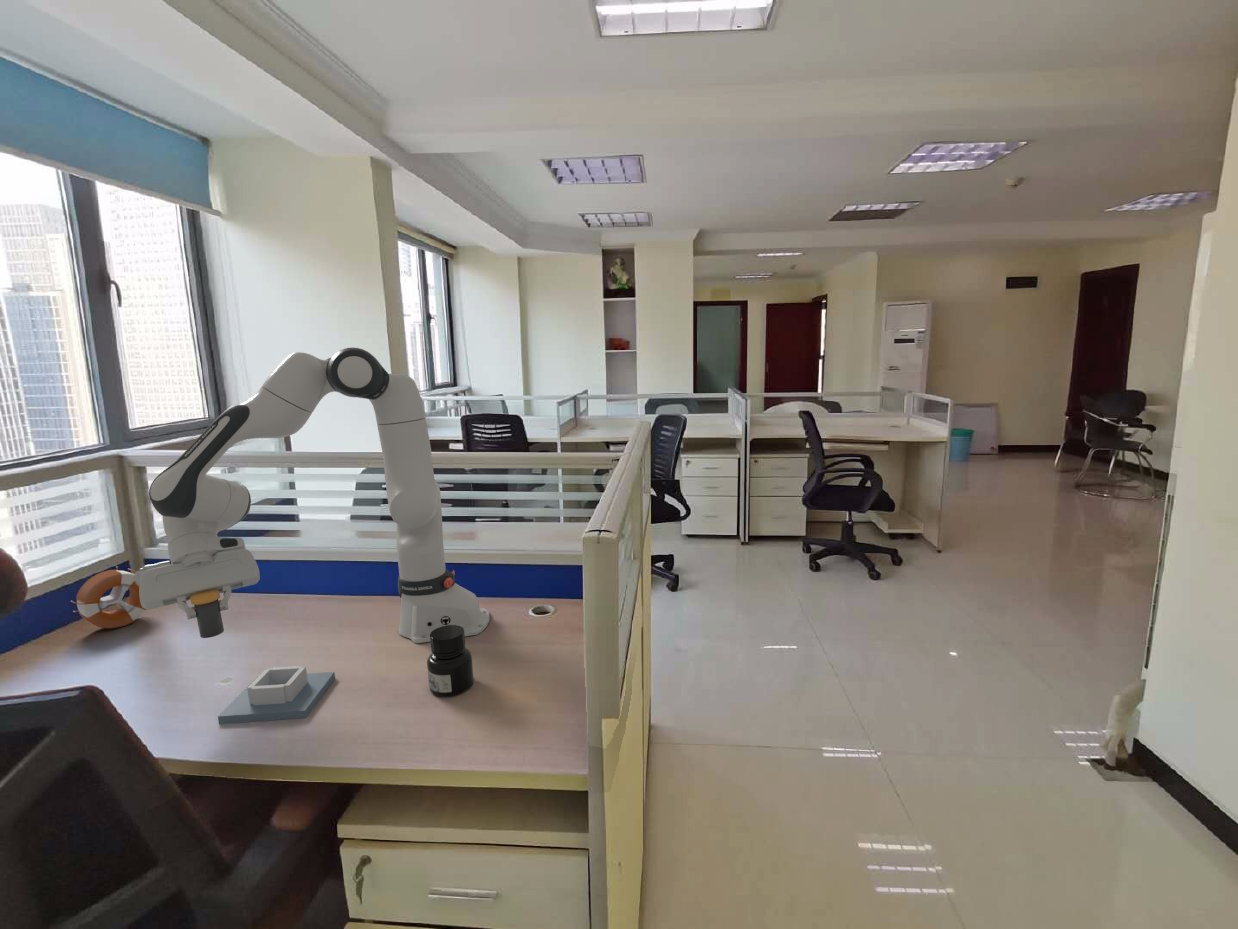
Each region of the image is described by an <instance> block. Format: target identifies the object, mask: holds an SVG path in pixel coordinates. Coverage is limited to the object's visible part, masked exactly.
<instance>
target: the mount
mask: <svg viewBox="0 0 1238 929" xmlns="http://www.w3.org/2000/svg"><path fill="white" fill-rule="evenodd" d="M335 674H336V673H335V671H328V672H313V673H310V672H309V673H308V672H307V667H306V666H303V665H293V666H292V665H291V666H277V667H275V666H274V667H270V668H266V669H265V670H263V671H262V672H261V673H260V674H259V675H258V676H256V677H255V679H253V680H252V681H251V682H250V683H249V684H248V685H247V686H246V687H245V689H243V690H242V691H241V692H240V693H239V695H238V696H236V698H234V700H233V701H232V702H230V703H229V704H228V706H226V708H224V709H223V710H222V711H221V712H220V714H219V715H218V716H217V719H218V724H219V725H220V724H232V723H247V722H248V723H249V722H262V721H263V722H264V721H274V720H275V721H276V720H290V719H305V718H307V716H308V715H310V713H311V711H312V710H313V709H314V707H315V706H316V705H317V704H318V702H319V701H320V699H321V698H322V697H323V696H324V695H325V692H326V691H327V690H328V688H330V686H331V685H332V683H333V682H334V681H335V679H336V675H335Z"/></svg>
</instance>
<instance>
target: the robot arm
mask: <svg viewBox="0 0 1238 929" xmlns="http://www.w3.org/2000/svg"><path fill="white" fill-rule="evenodd" d="M333 392H335V393H339V394H341V395H343V396H346V397H349V398H360V399H366V400H369V402H370V403H371V405H372V408H373V410H374V414H375V420H376V426H377V430H378V437H379V441H380V446H381V447H380V448H381V453H382V457H383V467H384V468H383V470H384V480H385V488H386V489H385V490H386V495H387V498H386V499H387V504H388V511H389V514H390V517H391V518H392V521H394V523H395V524H396V554H397V563H398V564H397V565H398V573H399V575H398V577H397V587H398V588H397V589H398V594H399V598H400V599H401V600H400V619H399V624H398V629H397V632H398V633H399V635H400V636H401V637H404V638H407V639H410V640H411V641H412V642H413V643H415V644H423V643H429V642H430V633H431V632H432V631H433V630H435V629H436V628H439V627H442V626H447V625H458V626H461V627H463V628H464V634H465V637H469V636H476V635H479V634H481V633H482V632H483V631H484V630H485V629H486V628H487V627H488V625H489V622H490V618H491V617H490V612H489V610H488V609H487V608H484V607H481V605H480V602H479V599H478V597H477V595H476V593H474V592H472V591H470V590H468V589H467V588H465V587H462V586H460V584H457V583H456V581H455V580H456V579H455V575H456V574H455V570H454V569H453V570H452V571H450V570H448V569H447V568H446V559H445V546H444V534H443V533H444V531H443V514H442V499H441V497H442V496H441V489H440V486H439V483H438V481H437V480H436V479H435V472H434V471H435V470H434V465H433V464H434V463H433V457H432V447H431V441H430V435H429V429H428V425H427V418H426V413H425V412H426V411H425V409H424V408H425V407H424V405H423V404H424V403H423V401H422V397H421V394H420V391H419V389H418V386H417V384H416V382H415V380H414V379H413V378H412V377H411V376H409V375H406V374H402V373H389V372H388V371H387V370H386V369H385V368H384V367H383V366H382V364H381V363H380V362H379V360H378V359H377V358H376V357H375V356H374V355H373V354H372V353H371V352H369V351H367V350H366V349H364V348H359V347H347V348H343V349H340V350H338V351H337V352H335V353H334V354H333V355H332V356H331V357H329V358H327V359H321V358H318V357H316V356H314V355H313V354H310V353H306V352H302V351H300V352H299V351H297V352H292V353H290V354H288V355H287V356H286V357H285V358H284V359H283V360H282V361H281V362H280V363H279V364H278V365H277V366H276V367H275V369H274V370H273V371H272V372H271V373H270V374H269V376H268V377H267V378H266V380H265V381H264V383H263V384H262V385H261V387H260V388H259V390H258V391H257V392H255V394H254V395H252V396H251V397H250V398H248V399H247V400H246V401H244V402H242V403H240V404H234V405H231V406H230V407H228V408H226V409H224V410H223V412H222V413H220V415H218V416H217V417H216V418H215V419H214V420H213V421H212V423H211V424H209V425H208V426H207V428H206V429H205V430H204V431H203V432H202V433H201V434H200V435H199V437H197V438H196V440H195V441H194V442H193V443H192V444H190V446H189V447H188V448H187V449H186V450H185V452H184V451H183V453H182V454H181V456H179V457H178V458H177V459H176V460H175V461H174V462H173V463H172V464H171V465H169V466H168V467H167V468H165V469H164V470H163V471H161V472H160V473H159V474H158V475H157V476H156V477H155V478H154V480H153V481H152V482H151V484H150V486H149V490H148V497H149V499H150V502H151V505H152V507H153V508H154V509H155V510H156V511H157V513H158V514H159V515H161V516H162V517H161V518H162V524H163V525H162V526H163V530H164V531H163V532H164V533H165V535H166V537H167V539H168V541H167V542H168V543H167V551H168V556H169V560H166V561H161V562H157V563H154V564H146V565H144V566H142V568H139V569H138V570H136V573H135V572H134V573H135V575H134V578H135V583H136V584H137V585H138V586H139V595H140V602H141V605H142V607H143V608H145V609H147V610H146V611H148V610H153V609H158V608H162V607H166V606H171V605H175V604H177V607H178V608H179V609H180V610H182V611H183V612H184V613H186V616H187V620H191V619H195V618H196V619H197V616H196V611H195V607H194V606H191V607H190V606H189V605H188V602H187V601H191V599H190V597H191V596H192V595H193V594H195V593H198V592H201V591H205V590H212V589H216V590H219V593H222V594H223V597H222V599H220V600H219V599H218V601H219V607H220V612H222V611H227V610H229V603H228V602H229V601H230V598H231V596H232V590H236V589H240V588H245V587H248V586H253V585H256V584H258V582H259V581H260V579H261V575H260V574H261V573H260V569H259V566H258V564H257V561H256V559H255V556H254V555H253V554H252V552H251V551H250V550H249V549H247V548H246V544H245V541H244V539H243V538H242V537H224V536H223V537H222V536H218V534H219V532H222V531H223V532H224V531H226V530H227V529H230V528H232V527H233V526H235V525H237V524H238V523H240V522H241V521H243V520H244V519H245V518H246V517H247V516H248V515H249V513H250V510H251V505H252V498H251V494H250V491H249V490H248V488H247V486H245V485H243V484H240V483H237V482H235V481H231V480H228V479H225V478H220V477H216V476H212V475H210V474H207V473H208V472H209V471H210V470H211V469H213V467H214V466H215V465H216V463H217V462H218V461H219V460H220V459H221V458H222V457H223V456H224V455H225V453H227V451H228V450H229V449H230V448H232V446H234V445H236V444H237V443H240V442H242V441H246V440H253V439H280V438H286V437H290V436H293V435H294V434H297V432H299V431H300V430H301V429H302V428H303V427H304V426H305V424H306V423H307V422H308V420H309V418H310V417H311V415H312V414H313V413H314V411H315V409H316V407H317V406H318V405H319V403H320V401H322V399H323V398H324V397H325V396H327V395H328V394H330V393H333ZM430 643H431V642H430Z"/></svg>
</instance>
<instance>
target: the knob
mask: <svg viewBox="0 0 1238 929" xmlns="http://www.w3.org/2000/svg"><path fill="white" fill-rule="evenodd" d="M220 598H221V595H220V593H219V590H216V589H212V590H205V591H201V592H198V593H195V594H193V595H192V596H191V597H190V599H191V600H190V603H191V605H194V606H193V607H195V611H196V616H197V617H196V620H197V627H198V630H199V631H198V632H199V636H200V638H201V639H208V638H214V637H216V636H220V635H221V634H223V633H224V631H225V628H224V624H223V617H222V611H220V607H219V599H220Z"/></svg>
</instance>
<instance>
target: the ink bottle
mask: <svg viewBox="0 0 1238 929" xmlns="http://www.w3.org/2000/svg"><path fill="white" fill-rule="evenodd" d="M430 648H431V649H430V651H431V654H429V656H428V658H427V660H426V668H427V678H428V686H429V690H430V692H431V693H432V694H434V695H435V696H438V697H443V698H444V697H452V696H457V695H459V694H462V693H464V692H466V691H467V690H469V689H470V688H471V687H472V686H473V684H474V671H473V670H474V669H473V658H472V652H471V651H470V650H469V649H468V648H466V636H465V634H464V628H463V627H461V626H458V625H447V626H442V627H439V628H436V629H435V630H433V631H432V632H431V633H430Z"/></svg>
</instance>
